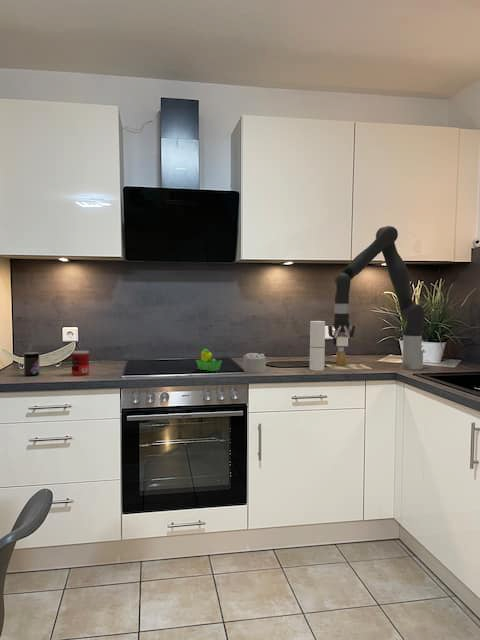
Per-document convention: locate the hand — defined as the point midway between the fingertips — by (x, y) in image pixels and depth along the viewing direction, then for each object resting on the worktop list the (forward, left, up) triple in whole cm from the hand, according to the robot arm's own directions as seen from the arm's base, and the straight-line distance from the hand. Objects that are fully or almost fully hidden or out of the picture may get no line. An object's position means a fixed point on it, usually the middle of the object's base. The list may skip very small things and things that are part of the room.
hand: (340, 345), depth 249 cm
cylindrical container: (+15, +10, -12) cm, 22 cm away
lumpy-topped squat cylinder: (+45, +4, -12) cm, 47 cm away
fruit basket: (+68, +2, -12) cm, 69 cm away
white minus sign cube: (0, 0, 0) cm, 0 cm away
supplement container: (+150, +10, -12) cm, 151 cm away
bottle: (0, 0, -11) cm, 11 cm away
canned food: (+128, +10, -12) cm, 129 cm away
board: (-3, +3, -12) cm, 13 cm away
